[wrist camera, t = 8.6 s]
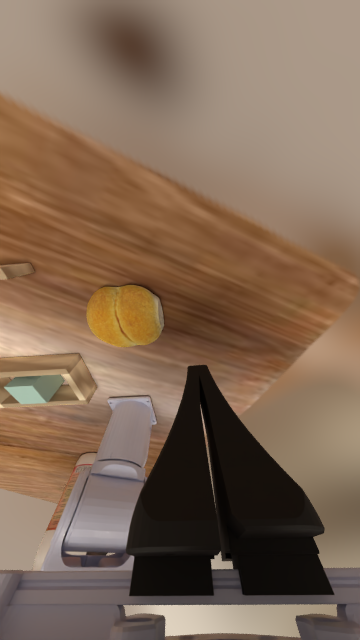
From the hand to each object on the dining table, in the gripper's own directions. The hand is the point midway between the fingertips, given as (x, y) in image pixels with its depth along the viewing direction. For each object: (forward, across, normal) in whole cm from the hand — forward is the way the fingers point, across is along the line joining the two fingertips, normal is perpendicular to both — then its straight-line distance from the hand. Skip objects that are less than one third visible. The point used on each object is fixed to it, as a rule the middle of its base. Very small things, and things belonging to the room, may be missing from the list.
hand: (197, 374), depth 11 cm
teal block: (+10, +24, +9) cm, 28 cm away
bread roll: (+10, +8, -1) cm, 13 cm away
